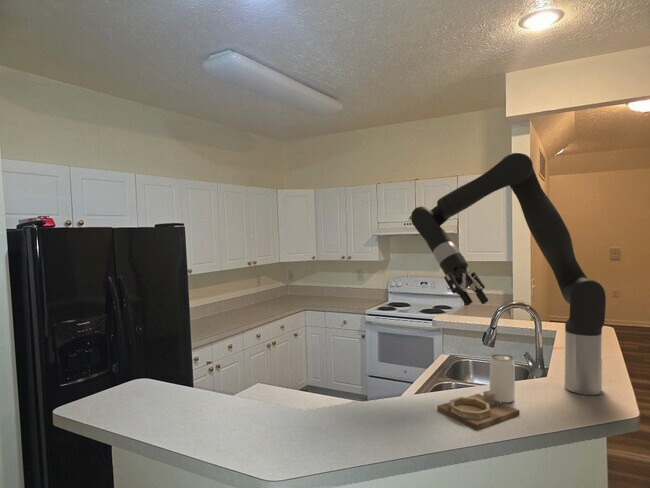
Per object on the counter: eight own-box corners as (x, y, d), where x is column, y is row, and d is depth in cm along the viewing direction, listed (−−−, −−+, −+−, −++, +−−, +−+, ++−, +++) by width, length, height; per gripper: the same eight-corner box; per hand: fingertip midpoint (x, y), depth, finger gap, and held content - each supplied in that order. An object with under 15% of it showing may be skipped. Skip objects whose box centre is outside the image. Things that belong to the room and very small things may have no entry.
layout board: (478, 397, 121) (478, 383, 121) (519, 414, 110) (519, 398, 109) (437, 410, 113) (437, 394, 113) (477, 429, 101) (477, 412, 101)
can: (517, 404, 116) (517, 360, 116) (492, 402, 117) (492, 359, 117) (511, 395, 122) (511, 354, 122) (487, 393, 124) (488, 353, 123)
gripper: (444, 251, 127) (473, 297, 119) (471, 252, 135) (500, 295, 127) (427, 266, 131) (454, 311, 123) (454, 266, 140) (481, 308, 132)
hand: (477, 303), depth 125 cm, fingers open, 8 cm apart
